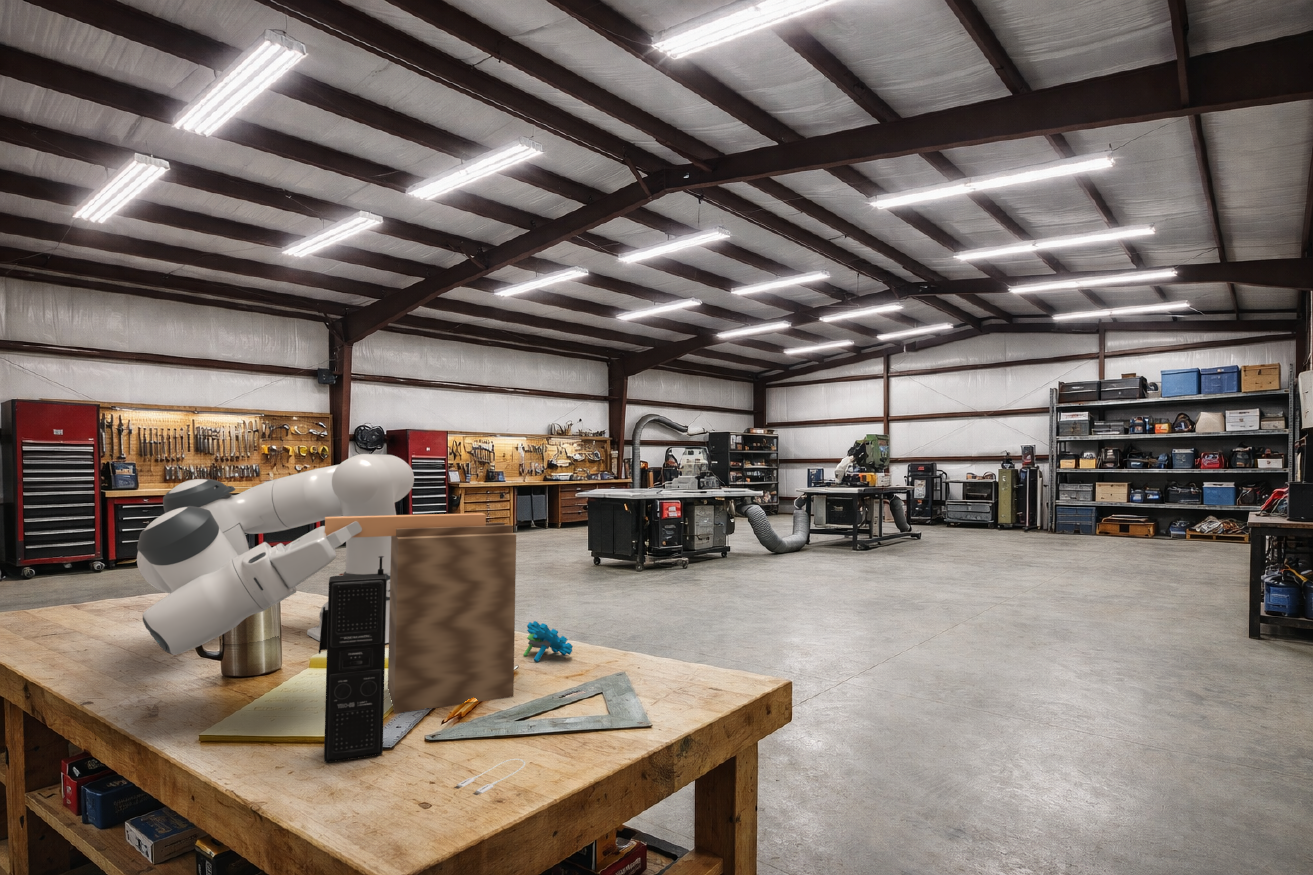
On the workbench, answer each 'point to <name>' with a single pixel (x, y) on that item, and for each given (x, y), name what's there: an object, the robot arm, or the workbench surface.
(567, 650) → the blue toy creature
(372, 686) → the portable radio
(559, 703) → the workbench surface
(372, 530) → the batten
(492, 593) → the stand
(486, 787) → the electronic cable
